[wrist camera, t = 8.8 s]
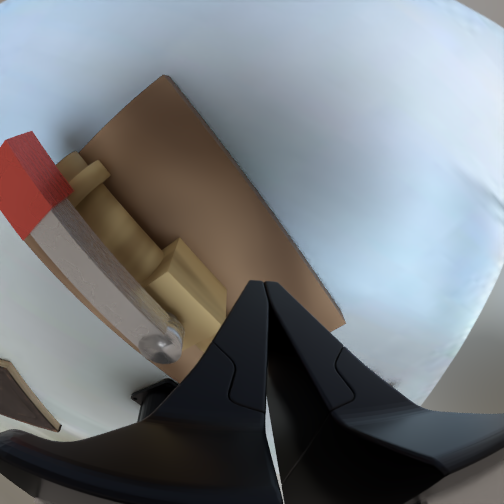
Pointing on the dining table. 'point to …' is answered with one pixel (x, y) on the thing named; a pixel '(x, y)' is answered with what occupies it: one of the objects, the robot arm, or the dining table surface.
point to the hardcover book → (22, 400)
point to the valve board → (182, 220)
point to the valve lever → (80, 249)
